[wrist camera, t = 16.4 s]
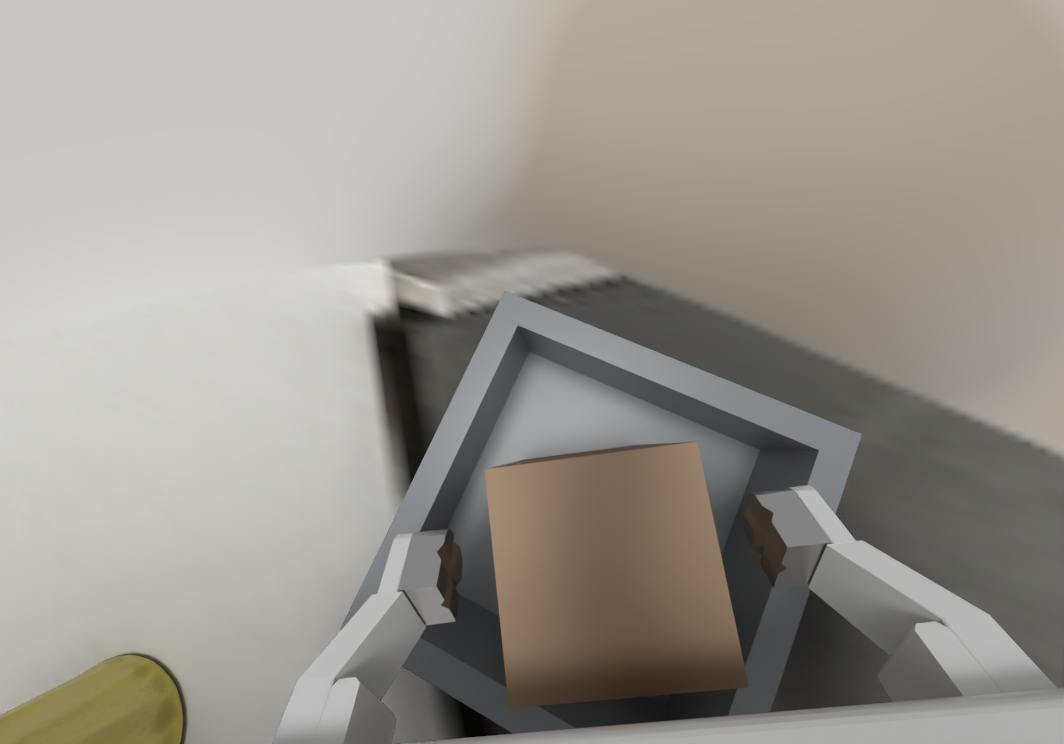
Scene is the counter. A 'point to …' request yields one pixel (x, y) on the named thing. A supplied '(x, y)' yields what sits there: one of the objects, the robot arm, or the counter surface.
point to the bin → (594, 424)
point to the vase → (102, 708)
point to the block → (610, 577)
